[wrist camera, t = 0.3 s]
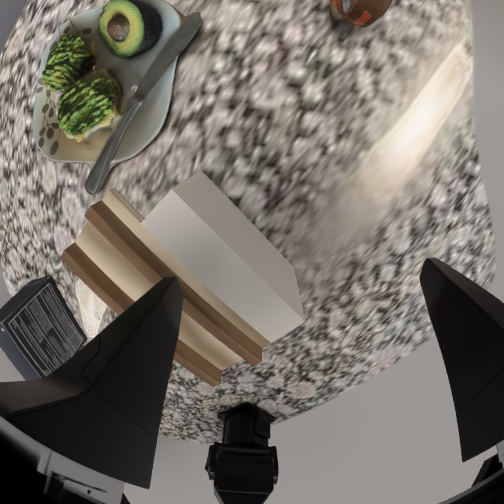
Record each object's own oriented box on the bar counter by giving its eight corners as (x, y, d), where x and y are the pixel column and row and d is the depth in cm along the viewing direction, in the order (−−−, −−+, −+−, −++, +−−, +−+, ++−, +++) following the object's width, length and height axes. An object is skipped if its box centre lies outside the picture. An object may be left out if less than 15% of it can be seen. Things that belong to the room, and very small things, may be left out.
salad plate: (177, 200, 23) (159, 215, 19) (37, 184, 22) (10, 195, 18) (214, -1, 15) (204, -25, 11) (60, 23, 14) (35, 15, 10)
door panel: (269, 285, 26) (271, 343, 19) (177, 194, 23) (140, 223, 15) (293, 267, 25) (305, 321, 18) (201, 170, 22) (171, 188, 14)
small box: (27, 280, 28) (-18, 322, 18) (51, 273, 27) (0, 320, 17) (62, 340, 32) (29, 387, 22) (89, 339, 31) (54, 393, 21)
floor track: (209, 372, 31) (206, 390, 29) (71, 252, 25) (56, 264, 23) (271, 336, 28) (271, 355, 26) (114, 187, 22) (97, 195, 20)
